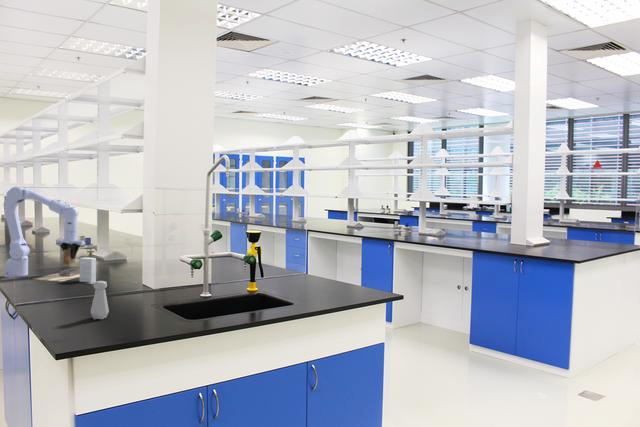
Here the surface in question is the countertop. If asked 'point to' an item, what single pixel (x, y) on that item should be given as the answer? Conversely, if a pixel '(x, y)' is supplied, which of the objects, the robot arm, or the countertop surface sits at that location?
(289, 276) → the countertop surface
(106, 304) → the salt shaker
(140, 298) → the countertop surface
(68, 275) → the clip board
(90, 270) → the skincare box
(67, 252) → the tan upright block
